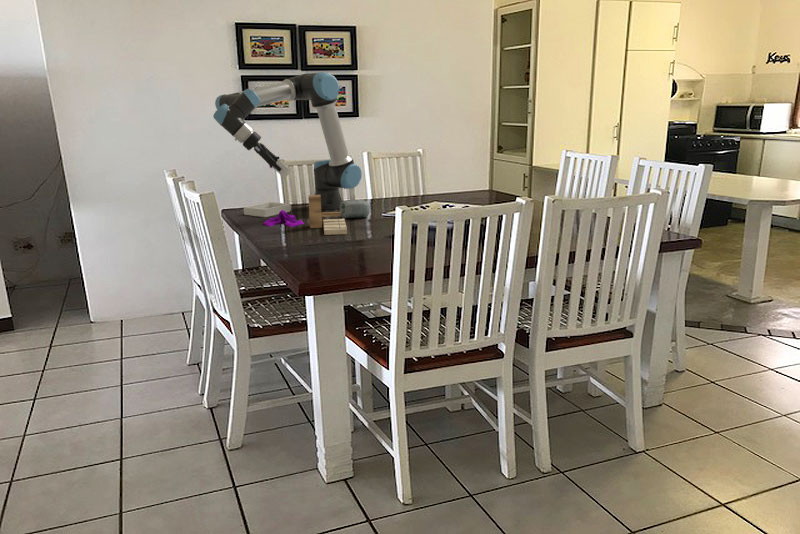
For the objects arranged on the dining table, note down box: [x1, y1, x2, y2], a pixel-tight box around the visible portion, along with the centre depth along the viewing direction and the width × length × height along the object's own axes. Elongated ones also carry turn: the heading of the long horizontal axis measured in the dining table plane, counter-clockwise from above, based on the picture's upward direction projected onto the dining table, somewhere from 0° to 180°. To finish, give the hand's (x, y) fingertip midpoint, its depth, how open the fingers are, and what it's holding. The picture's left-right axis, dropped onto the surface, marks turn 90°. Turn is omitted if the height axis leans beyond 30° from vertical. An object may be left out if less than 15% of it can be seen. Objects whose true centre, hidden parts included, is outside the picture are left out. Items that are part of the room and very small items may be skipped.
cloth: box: [263, 210, 305, 228], centre depth 276 cm, size 22×19×6 cm
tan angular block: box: [307, 194, 342, 229], centre depth 264 cm, size 5×13×13 cm, turn 98°
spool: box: [339, 199, 371, 220], centre depth 282 cm, size 14×10×10 cm
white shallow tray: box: [243, 201, 292, 218], centre depth 298 cm, size 17×14×4 cm
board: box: [322, 218, 348, 236], centre depth 260 cm, size 22×9×2 cm, turn 8°
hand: (287, 174), depth 258 cm, fingers open, 13 cm apart
